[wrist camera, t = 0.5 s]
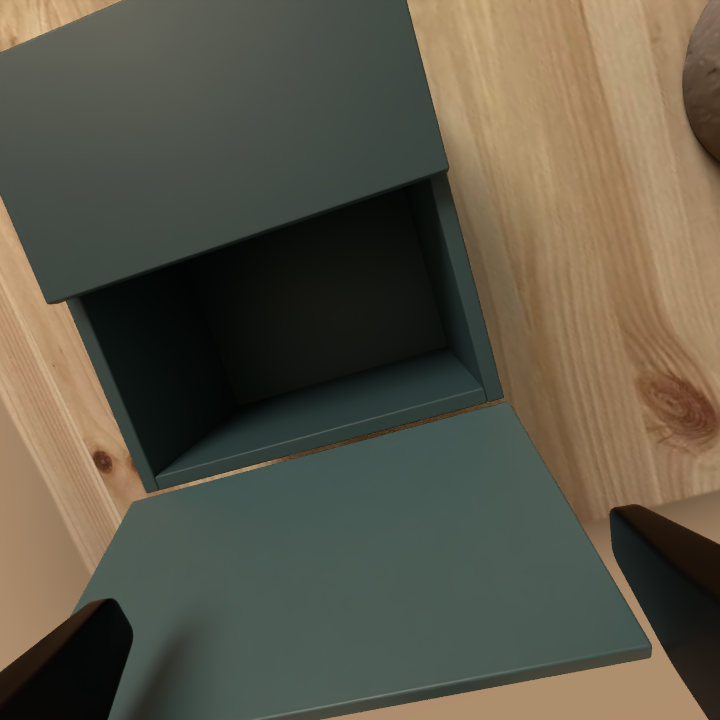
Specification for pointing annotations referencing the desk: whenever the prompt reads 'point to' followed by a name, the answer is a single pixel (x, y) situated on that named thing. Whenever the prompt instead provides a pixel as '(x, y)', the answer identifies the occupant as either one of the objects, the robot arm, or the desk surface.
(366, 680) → the flap
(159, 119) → the carton
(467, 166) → the desk surface
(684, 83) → the pillar candle
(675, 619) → the robot arm
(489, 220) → the desk surface
